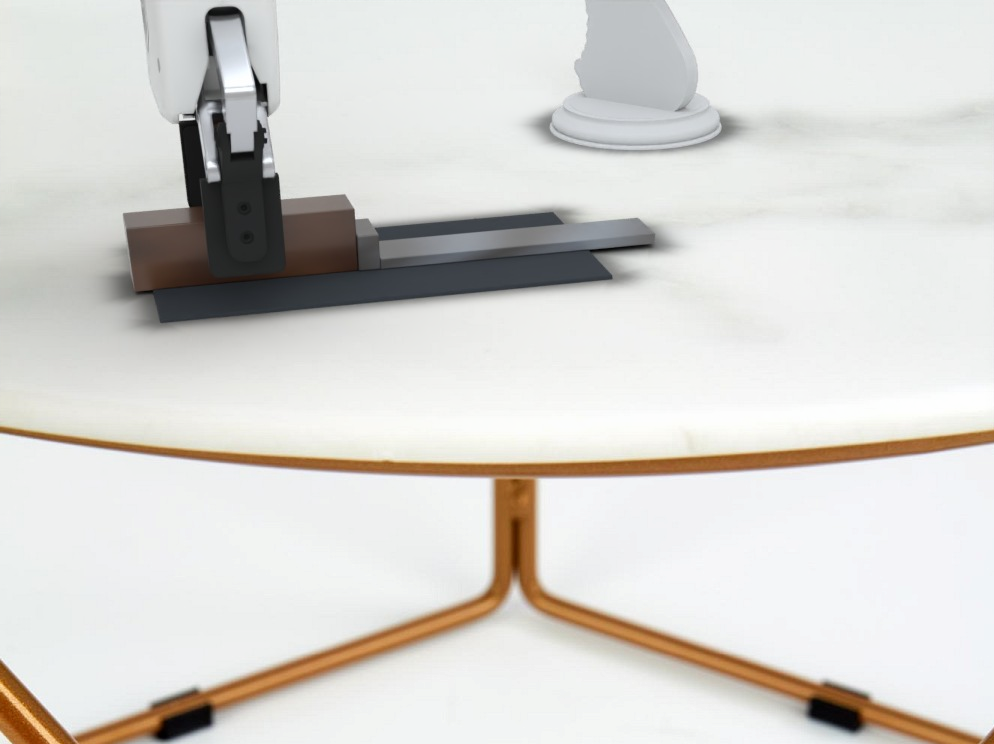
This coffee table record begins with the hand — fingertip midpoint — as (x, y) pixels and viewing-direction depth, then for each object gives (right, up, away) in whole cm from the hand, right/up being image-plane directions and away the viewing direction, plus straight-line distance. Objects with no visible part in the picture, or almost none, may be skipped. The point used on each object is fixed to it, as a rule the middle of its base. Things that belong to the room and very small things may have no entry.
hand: (235, 238), depth 76 cm
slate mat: (+6, -1, +2) cm, 6 cm away
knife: (+6, 0, +2) cm, 6 cm away
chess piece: (+20, +12, +22) cm, 32 cm away
